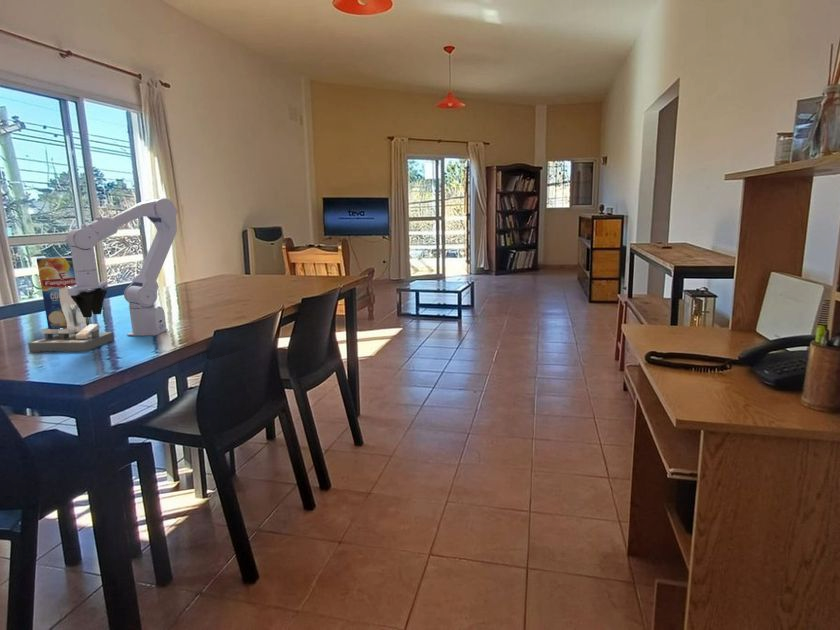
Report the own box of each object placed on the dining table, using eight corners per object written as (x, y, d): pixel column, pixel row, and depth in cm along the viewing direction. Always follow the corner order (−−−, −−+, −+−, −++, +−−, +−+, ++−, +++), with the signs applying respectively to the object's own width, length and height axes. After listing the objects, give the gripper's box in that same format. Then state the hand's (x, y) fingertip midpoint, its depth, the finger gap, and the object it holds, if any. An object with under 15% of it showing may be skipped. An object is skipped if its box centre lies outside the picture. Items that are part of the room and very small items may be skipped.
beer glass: (95, 330, 173) (88, 285, 170) (79, 335, 166) (72, 289, 163) (76, 330, 174) (69, 286, 170) (59, 335, 167) (52, 289, 164)
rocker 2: (100, 327, 155) (98, 323, 154) (85, 338, 149) (84, 335, 148) (91, 327, 155) (89, 323, 154) (76, 338, 149) (75, 335, 148)
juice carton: (48, 330, 174) (36, 259, 169) (48, 326, 180) (37, 257, 175) (90, 325, 180) (79, 256, 176) (88, 321, 187) (78, 255, 182)
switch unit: (114, 339, 159) (112, 325, 158) (85, 351, 146) (83, 335, 145) (62, 340, 159) (60, 326, 158) (29, 351, 147) (26, 336, 146)
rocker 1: (68, 333, 155) (68, 329, 156) (50, 333, 148) (50, 328, 149) (59, 334, 156) (59, 329, 156) (41, 333, 149) (41, 329, 149)
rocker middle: (84, 333, 155) (84, 329, 155) (67, 333, 148) (67, 328, 148) (75, 333, 155) (75, 329, 155) (57, 333, 148) (58, 328, 148)
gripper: (88, 267, 158) (95, 311, 161) (54, 273, 144) (62, 320, 147) (111, 267, 158) (117, 310, 161) (78, 273, 144) (86, 320, 147)
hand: (92, 315), depth 154 cm, fingers open, 4 cm apart
